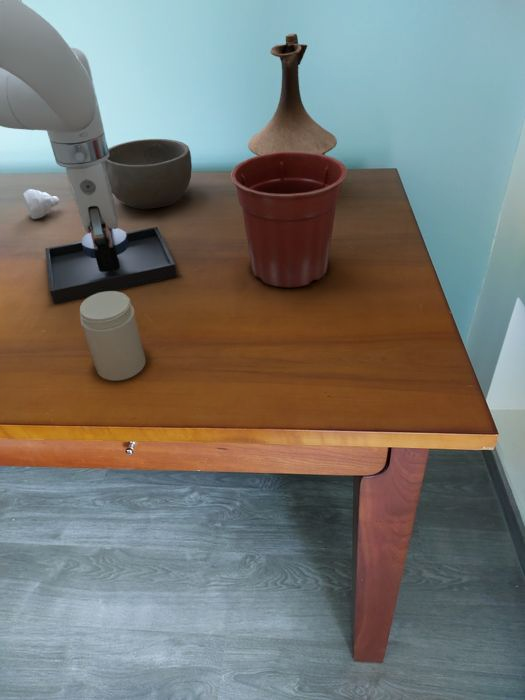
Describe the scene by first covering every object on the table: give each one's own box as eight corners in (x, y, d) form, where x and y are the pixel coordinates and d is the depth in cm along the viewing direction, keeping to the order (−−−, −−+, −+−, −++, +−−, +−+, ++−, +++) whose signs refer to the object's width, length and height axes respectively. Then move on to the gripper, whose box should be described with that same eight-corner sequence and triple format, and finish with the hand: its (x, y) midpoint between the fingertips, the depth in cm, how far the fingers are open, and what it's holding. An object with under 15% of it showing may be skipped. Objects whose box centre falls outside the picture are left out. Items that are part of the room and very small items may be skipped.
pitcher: (255, 175, 115) (248, 28, 97) (333, 175, 114) (341, 25, 96) (246, 211, 102) (236, 47, 84) (334, 211, 100) (343, 44, 82)
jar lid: (129, 234, 88) (127, 225, 87) (128, 255, 83) (125, 246, 82) (85, 239, 87) (83, 230, 86) (82, 261, 82) (79, 251, 81)
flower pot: (219, 265, 87) (208, 169, 77) (296, 234, 94) (296, 142, 84) (280, 310, 77) (277, 206, 66) (361, 271, 84) (371, 172, 73)
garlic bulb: (65, 216, 103) (57, 189, 100) (34, 223, 101) (25, 197, 98) (59, 206, 107) (51, 180, 104) (29, 213, 105) (19, 187, 101)
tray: (54, 304, 80) (49, 291, 78) (49, 260, 90) (45, 248, 89) (177, 276, 85) (175, 264, 83) (159, 238, 95) (157, 226, 93)
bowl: (174, 176, 117) (167, 129, 111) (211, 203, 105) (205, 153, 99) (99, 195, 110) (87, 147, 104) (129, 227, 99) (118, 175, 92)
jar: (100, 386, 65) (80, 326, 59) (92, 356, 70) (73, 297, 64) (150, 372, 67) (136, 311, 61) (140, 343, 72) (125, 284, 66)
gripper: (110, 166, 69) (136, 281, 80) (104, 126, 82) (127, 230, 93) (51, 174, 68) (86, 290, 79) (54, 132, 81) (84, 237, 92)
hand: (108, 257), depth 86 cm, fingers closed on jar lid, 7 cm apart
